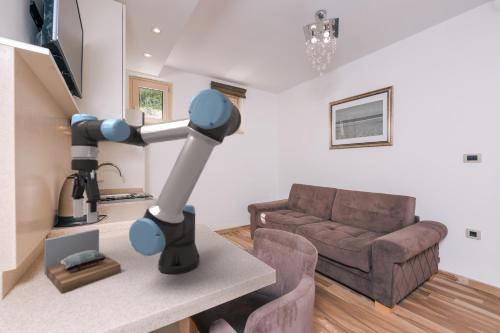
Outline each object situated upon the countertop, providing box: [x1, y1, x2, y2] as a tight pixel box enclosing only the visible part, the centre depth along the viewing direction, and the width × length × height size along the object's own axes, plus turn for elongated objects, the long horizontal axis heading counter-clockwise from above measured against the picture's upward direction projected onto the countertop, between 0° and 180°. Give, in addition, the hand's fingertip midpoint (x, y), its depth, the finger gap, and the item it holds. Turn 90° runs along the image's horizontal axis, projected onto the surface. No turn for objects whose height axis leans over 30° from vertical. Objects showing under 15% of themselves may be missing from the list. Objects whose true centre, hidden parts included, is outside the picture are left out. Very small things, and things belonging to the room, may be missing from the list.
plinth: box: [46, 252, 121, 295], centre depth 74 cm, size 18×16×3 cm
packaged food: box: [59, 250, 107, 271], centre depth 74 cm, size 9×12×5 cm
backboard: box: [43, 228, 100, 276], centre depth 81 cm, size 2×16×12 cm, turn 144°
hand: (85, 219), depth 74 cm, fingers open, 13 cm apart
